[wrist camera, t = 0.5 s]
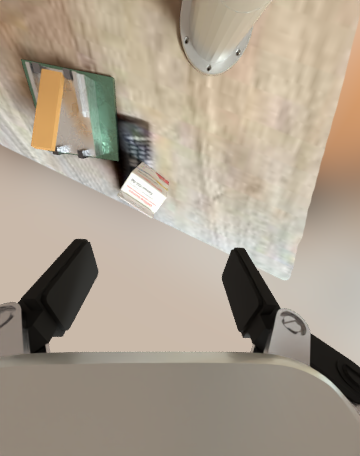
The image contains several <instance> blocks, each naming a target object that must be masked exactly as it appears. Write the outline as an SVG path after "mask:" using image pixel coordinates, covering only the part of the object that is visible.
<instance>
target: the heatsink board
mask: <svg viewBox="0 0 360 456" xmlns="http://www.w3.org/2000/svg"><path fill="white" fill-rule="evenodd" d="M21 61H22V65H23V68H24V71H25V75H26V78H27V81H28V85H29V88H30V91H31V95H32V98H33V101H34V105H35V108H36V106H37V99H38V92H39V84H40V77H41V70H42V69H47V70H52V71H57V72H62V74H63V75H64V78H65V79H64V87H63V94H62V102H61V109H60V117H59V124H58V132H57V139H56V147H55V151H52V152H53V154H56V155H61V154H65V153H66V154H73V155H78V157H79V158H83V159H84V158H87V157H94V158H100V159H107V160H114V161H120V155H119V141H118V126H117V111H116V96H115V81H114V78H113V77H108V76H103V75H98V74H93V73H88V72H83V71H78V70H73V69H68V68H63V67H58V66H53V65H48V64H43V63H38V62H33V61H28V60H23V59H21ZM48 151H49V150H48Z"/></svg>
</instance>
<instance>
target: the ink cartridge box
mask: <svg viewBox="0 0 360 456" xmlns="http://www.w3.org/2000/svg"><path fill="white" fill-rule="evenodd" d="M168 184H169V182H168V181H167V180H165V179H164V178H163V177H161V176H160V175H159V174H158V173H156V172H155V171H154V170H153V169H151V168H150V167H149V166H147V165H146V164H145V163H144V162H142V163H141V164H139V165H138V166H137V167H136V168H135V169H134V170H133V171H132V172H131V174H130V175H129V177H128V178H127V180H126V181H125V183H124V185H123V186H122V188H121V192H120V193H119V194H117V196H118V197H119V198H121V199H122V200H124V201H125V202H127V203H128V204H130V205H131V206H133V207H135V208H136V209H138V210H139V211H141V212H142V213H144V214H145V215H147V216H149V217H150V218H153V216H154V213H155V212H156V211H157V210H158V208H159V207H160V206H161V204H162V203H163V202H164V200H165V199H166V197H167V191H168ZM131 201H132V202H134V203H135V204H137V205H138V206H140V207H141V208H142V209H141V208H140V207H137V206H136V205H135V204H134V203H132V202H131Z"/></svg>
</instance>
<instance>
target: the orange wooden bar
mask: <svg viewBox="0 0 360 456" xmlns="http://www.w3.org/2000/svg"><path fill="white" fill-rule="evenodd" d="M64 79H65V78H64V75H63V74H62V72H57V71H52V70H47V69H42V70H41V77H40V84H39V92H38V99H37V106H36V113H35V120H34V128H33V135H32V142H31V146H32V147H34V148H36V149H43V150H49V151H55V147H56V139H57V132H58V124H59V117H60V109H61V102H62V94H63V87H64Z"/></svg>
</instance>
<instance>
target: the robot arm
mask: <svg viewBox="0 0 360 456" xmlns="http://www.w3.org/2000/svg"><path fill="white" fill-rule="evenodd" d="M271 2H272V0H182V5H181V12H180V35H181V42H182V46H183V49H184V52H185V54H186V56H187V59H188V60H189V62H190V63H191V65H192V66H193V67H194V68H195V69H196V70H197V71H199V72H201V73H202V74H205V75H209V76H215V75H219V74H222V73H224V72H226V71H227V70H229V69H230V68H231V67H232V66H233V65H234V64H235V63H236V62H237V61H238V60H239V58H240V57H241V56H242V54H243V52H244V50H245V49H246V47H247V44H248V42H249V39H250V37H251V33H252V29H253V25H254V24H255V23H256V21H257V20H258V19H259V17H260V16H261V15H262V13H263V12H264V11H265V9H266V8H267V7H268V6H269V4H270V3H271ZM185 41H187V42H188V43H187V44H185ZM236 53H238V56H237V55H236ZM207 68H209V71H208V70H207ZM97 275H98V268H97V265H96V261H95V258H94V254H93V251H92V247H91V244H90V242H88V241H87V240H86V239H75V240H74V241H73V242H72V243H71V244H70V245H69V246H68V247H67V249H66V250H65V251H64V252H63V253H62V254H61V255H60V257H58V258H57V260H56V261H55V262H54V263H53V264H52V265H51V266H50V267H49V268H48V270H47V271H46V272H45V273H44V274H43V275H42V276H41V277H40V278H39V279H38V281H37V282H36V283H35V284H34V285H33V286H32V287H31V288H30V289H29V290H28V292H27V293H26V294H25V295H24V296H23V297H22V298H21V300H20V301H19V302H18V303H15V302H10V303H4V304H1V305H0V456H360V367H359V366H358V365H356V364H355V363H354V362H352V361H351V360H349V359H348V358H347V357H345V356H343V355H342V354H340V353H339V352H337V351H336V350H335V349H333V348H332V347H330V346H329V345H327V344H326V343H324V342H323V341H321V340H320V339H318V338H317V337H315V336H314V335H312V334H311V333H310V329H309V327H308V325H307V323H306V322H305V320H304V319H303V318H302V317H301V316H299V315H298V314H297V313H295V312H294V311H292V310H290V309H285V308H284V309H281V308H280V307H279V305H278V303H277V302H276V300H275V298H274V296H273V295H272V293H271V291H270V290H269V288H268V286H267V285H266V283H265V281H264V280H263V278H262V276H261V275H260V273H259V271H258V270H257V269H256V267H255V265H254V264H253V262H252V260H251V259H250V257H249V255H248V254H247V252H246V250H245V249H244V248H234V250H231V253H230V256H229V258H228V261H227V264H226V267H225V269H224V272H223V274H222V281H223V284H224V288H225V290H226V294H227V297H228V300H229V303H230V306H231V310H232V313H233V316H234V319H235V322H236V325H237V328H238V330H239V332H241V333H242V336H243V338H251V340H252V343H253V346H252V349H251V352H250V353H246V352H245V353H244V352H66V353H50V349H49V341H50V340H51V338H52V337H62V336H63V334H64V333H65V331H66V330H68V329H69V328H70V327H71V325H72V323H73V321H74V319H75V317H76V315H77V313H78V312H79V310H80V308H81V306H82V304H83V302H84V300H85V298H86V296H87V295H88V293H89V291H90V289H91V287H92V285H93V283H94V281H95V279H96V278H97Z"/></svg>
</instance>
